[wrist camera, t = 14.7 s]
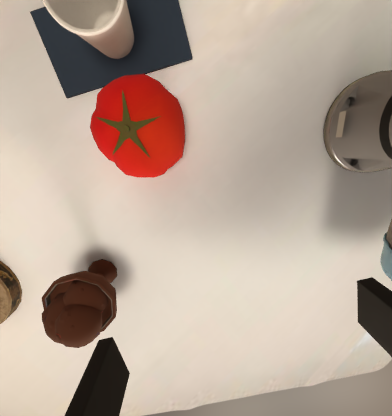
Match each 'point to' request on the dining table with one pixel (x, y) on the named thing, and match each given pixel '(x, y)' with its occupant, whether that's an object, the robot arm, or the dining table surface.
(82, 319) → the ice cream bowl
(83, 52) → the placemat
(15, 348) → the dining table surface
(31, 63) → the dining table surface
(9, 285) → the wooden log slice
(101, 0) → the dixie cup
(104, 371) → the robot arm
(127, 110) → the tomato
